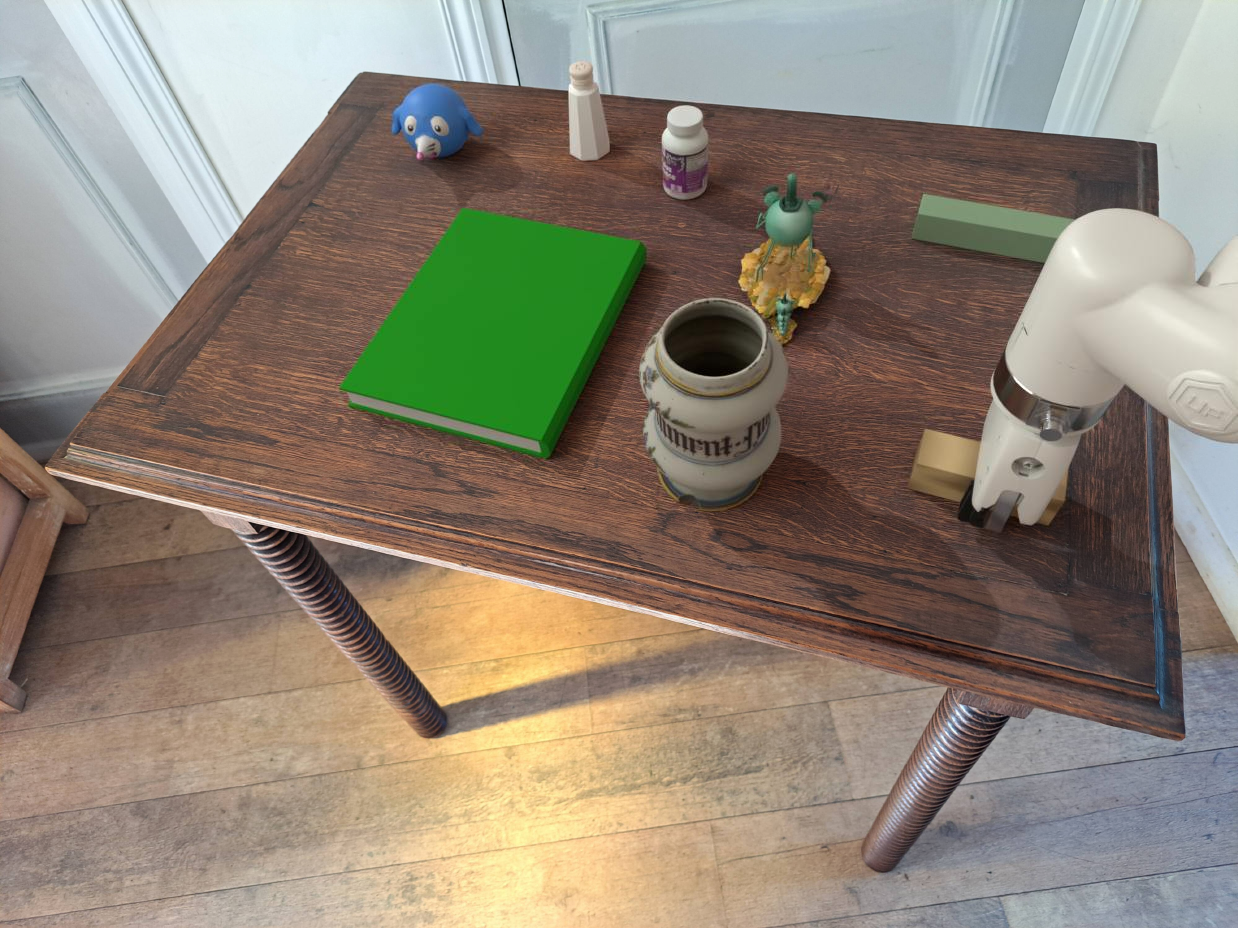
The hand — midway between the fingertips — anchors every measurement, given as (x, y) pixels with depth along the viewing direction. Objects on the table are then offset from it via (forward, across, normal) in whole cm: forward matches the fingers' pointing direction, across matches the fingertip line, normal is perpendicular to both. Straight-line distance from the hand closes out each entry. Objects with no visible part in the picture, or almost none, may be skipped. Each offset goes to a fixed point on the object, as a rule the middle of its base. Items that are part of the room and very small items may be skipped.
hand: (976, 516), depth 73 cm
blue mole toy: (+3, +35, +70) cm, 78 cm away
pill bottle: (+2, +37, +38) cm, 53 cm away
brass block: (+1, +4, 0) cm, 4 cm away
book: (+2, +10, +49) cm, 50 cm away
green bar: (+2, +37, +3) cm, 37 cm away
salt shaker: (+3, +42, +52) cm, 66 cm away
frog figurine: (+2, +24, +23) cm, 33 cm away
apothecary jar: (+2, -1, +23) cm, 23 cm away
